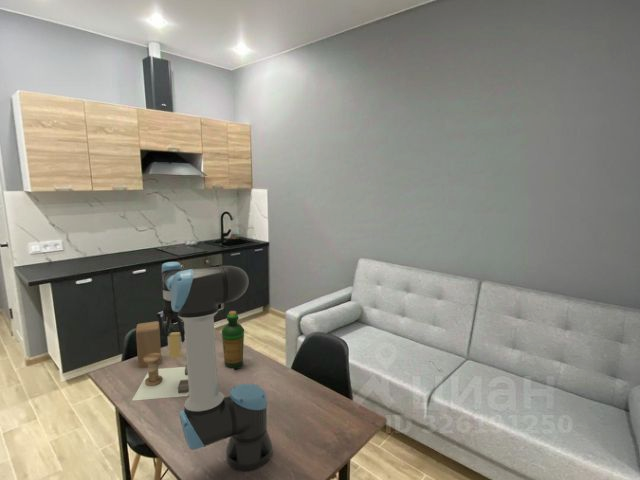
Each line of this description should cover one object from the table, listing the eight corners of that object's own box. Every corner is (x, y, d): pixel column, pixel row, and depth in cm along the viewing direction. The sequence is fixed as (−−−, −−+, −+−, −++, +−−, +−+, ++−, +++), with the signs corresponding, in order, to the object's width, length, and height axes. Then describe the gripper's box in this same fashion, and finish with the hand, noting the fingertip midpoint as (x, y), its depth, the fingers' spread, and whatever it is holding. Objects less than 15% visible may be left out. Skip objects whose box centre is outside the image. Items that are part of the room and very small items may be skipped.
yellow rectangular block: (179, 357, 152) (178, 336, 150) (170, 358, 151) (169, 336, 149) (181, 352, 156) (180, 332, 154) (172, 353, 155) (171, 332, 153)
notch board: (188, 392, 148) (187, 385, 148) (178, 393, 148) (177, 386, 147) (195, 368, 167) (195, 363, 166) (187, 369, 166) (186, 363, 166)
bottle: (218, 369, 169) (216, 314, 164) (230, 358, 179) (228, 307, 174) (237, 373, 166) (236, 317, 161) (248, 362, 176) (247, 309, 171)
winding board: (188, 398, 146) (188, 395, 146) (131, 403, 142) (131, 400, 142) (197, 368, 169) (197, 366, 169) (149, 371, 166) (149, 369, 165)
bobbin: (160, 385, 153) (158, 360, 151) (143, 386, 152) (141, 361, 150) (164, 376, 160) (162, 352, 158) (148, 377, 158) (146, 353, 156)
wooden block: (139, 360, 175) (136, 323, 172) (161, 356, 180) (158, 320, 176) (138, 370, 167) (135, 331, 163) (161, 366, 171) (159, 327, 167)
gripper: (195, 294, 154) (197, 343, 158) (154, 295, 151) (157, 346, 155) (192, 300, 147) (194, 351, 151) (149, 302, 144) (152, 354, 148)
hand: (175, 348), depth 153 cm, fingers closed on yellow rectangular block, 4 cm apart
